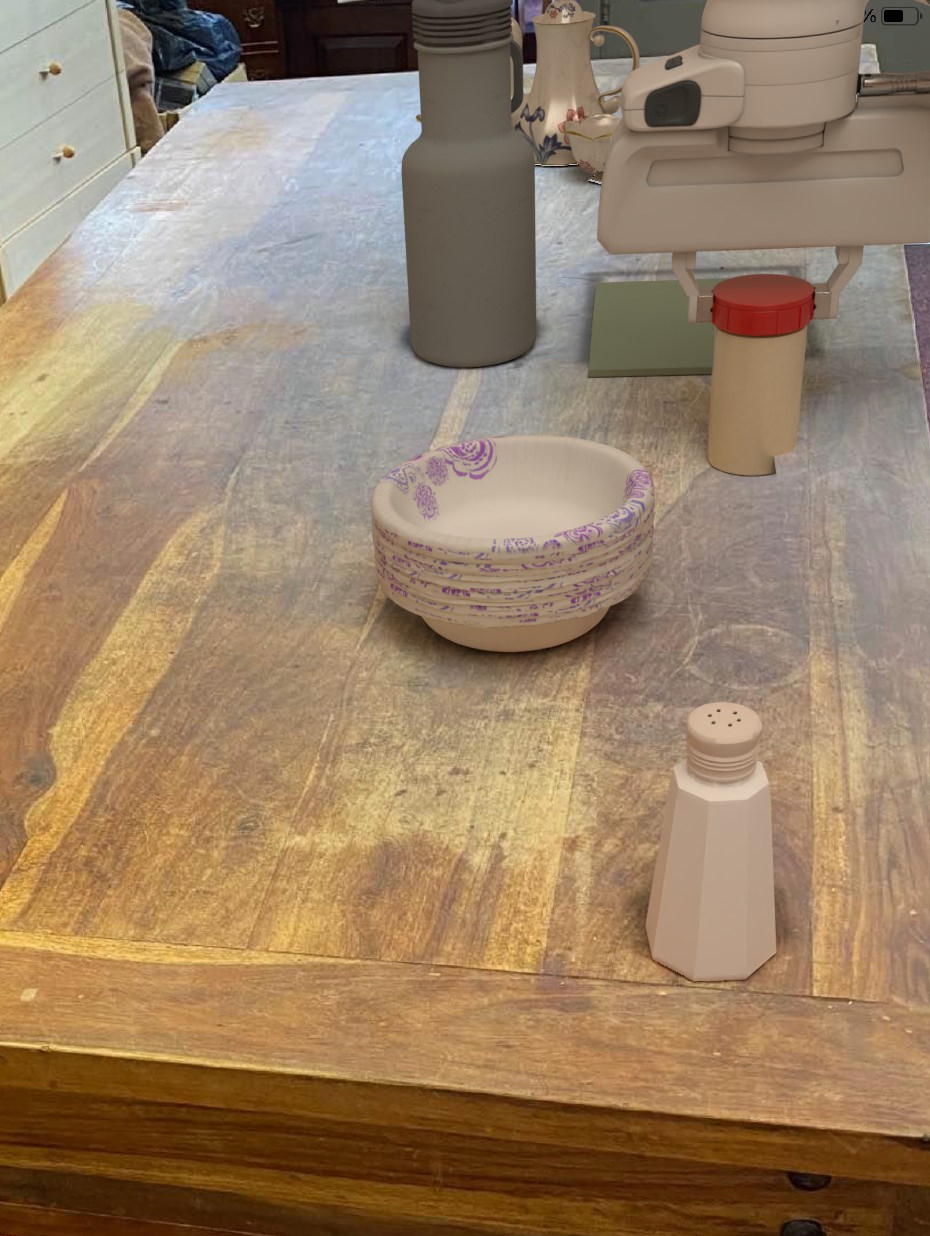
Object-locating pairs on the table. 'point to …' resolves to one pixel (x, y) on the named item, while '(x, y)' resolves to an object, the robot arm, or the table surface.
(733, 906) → the pepper shaker
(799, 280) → the lid
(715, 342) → the jar
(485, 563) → the paper bowls
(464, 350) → the water bottle
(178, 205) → the table surface
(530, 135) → the chinaware
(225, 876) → the table surface
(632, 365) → the mat
